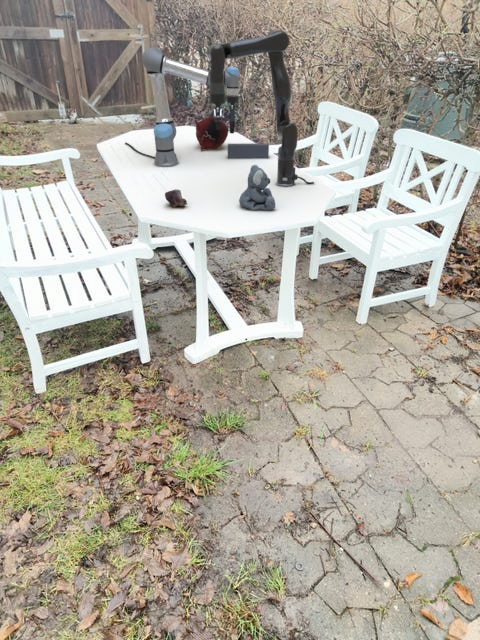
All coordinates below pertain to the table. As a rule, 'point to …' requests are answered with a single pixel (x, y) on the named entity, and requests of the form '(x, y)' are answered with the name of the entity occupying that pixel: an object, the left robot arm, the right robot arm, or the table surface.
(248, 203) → the koala plush
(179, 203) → the rock
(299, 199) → the table surface
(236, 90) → the left robot arm
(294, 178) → the right robot arm
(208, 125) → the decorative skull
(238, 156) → the bar
